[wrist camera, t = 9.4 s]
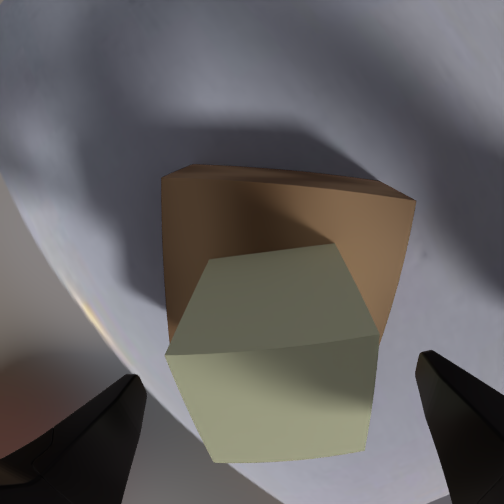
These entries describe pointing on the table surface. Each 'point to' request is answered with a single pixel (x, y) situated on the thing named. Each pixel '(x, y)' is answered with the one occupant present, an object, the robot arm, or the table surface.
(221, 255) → the walnut block
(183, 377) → the sage block
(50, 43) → the table surface
